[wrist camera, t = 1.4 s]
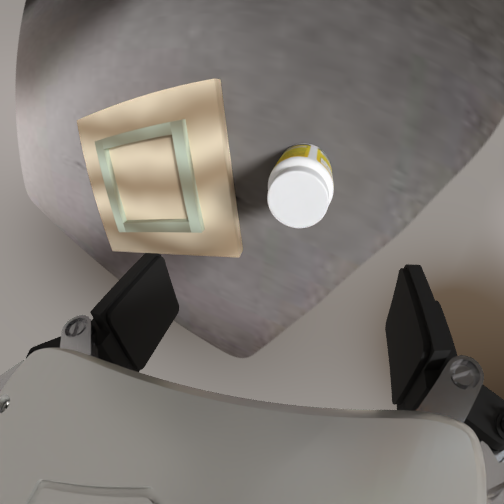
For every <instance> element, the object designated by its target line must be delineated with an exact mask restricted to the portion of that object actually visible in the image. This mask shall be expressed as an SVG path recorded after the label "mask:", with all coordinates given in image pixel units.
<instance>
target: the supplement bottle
mask: <svg viewBox="0 0 504 504" xmlns="http://www.w3.org/2000/svg"><path fill="white" fill-rule="evenodd" d="M333 191H334V186H333V177H332V170H331V164H330V161H329V158H328V157H327V155H326V154H325V152H324V151H322V150H321V149H320V148H318V147H317V146H314V145H312V144H306V143H301V144H296V145H293V146H291V147H290V148H288V149H287V150H286V151H285V152H284V153H283V155H282V156H281V158H280V159H279V161H278V162H277V164H276V166H275V167H274V168H273V170H272V172H271V174H270V177H269V180H268V195H267V201H268V206H269V209H270V211H271V213H272V214H273V216H274V217H275V218H276V219H277V220H278V221H280V222H281V223H283V224H284V225H287V226H289V227H293V228H306V227H309V226H312V225H314V224H316V223H317V222H319V221H320V220H321V219H322V218H323V216H324V215H325V213H326V211H327V208H328V205H329V204H330V202H331V199H332V197H333Z"/></svg>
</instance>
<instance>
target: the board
mask: <svg viewBox="0 0 504 504" xmlns="http://www.w3.org/2000/svg"><path fill="white" fill-rule="evenodd" d="M77 124H78V130H79V135H80V140H81V145H82V149H83V154H84V158H85V162H86V167H87V171H88V174H89V178H90V182H91V186H92V189H93V193H94V196H95V200H96V203H97V206H98V210H99V213H100V216H101V219H102V222H103V225H104V228H105V231H106V234H107V237H108V240H109V243H110V245H111V248H112V251H119V252H138V253H158V254H178V255H198V256H219V257H240V255H241V253H242V251H243V247H242V240H241V233H240V225H239V218H238V211H237V203H236V196H235V188H234V181H233V173H232V166H231V158H230V151H229V143H228V135H227V128H226V120H225V112H224V104H223V96H222V88H221V80H220V79H210V80H204V81H199V82H195V83H190V84H186V85H181V86H177V87H173V88H169V89H165V90H162V91H158V92H154V93H151V94H147V95H144V96H141V97H138V98H134V99H131V100H128V101H125V102H122V103H120V104H117V105H114V106H111V107H109V108H106V109H103V110H101V111H98V112H96V113H93V114H91V115H88V116H86V117H84V118H81V119H79V120H77Z"/></svg>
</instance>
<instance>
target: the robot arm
mask: <svg viewBox="0 0 504 504" xmlns="http://www.w3.org/2000/svg"><path fill="white" fill-rule="evenodd" d="M178 311H179V304H178V301H177V298H176V295H175V292H174V289H173V286H172V283H171V280H170V277H169V273H168V270H167V267H166V264H165V260H164V258H163V257H161V255H160V254H158V253H146V254H144V255H143V256H142V257H141V258H140V259H139V260H138V262H137V263H136V264H135V265H134V266H133V267H132V268H131V269H130V270H129V271H128V272H127V273H126V274H125V275H124V276H123V277H122V278H121V279H120V280H119V281H118V282H117V283H116V284H115V286H114V287H113V288H112V289H111V290H110V291H109V292H108V293H107V294H106V295H105V296H104V297H103V299H102V300H101V301H100V302H99V303H98V304H97V305H96V306H95V307H94V309H93V310H92V311H91V314H92V316H93V320H92V321H91V319H90V318H89V317H88V316H85V315H80V316H76V317H74V318H72V319H71V320H69V321H68V322H67V323H66V324H65V325H64V327H63V329H62V334H61V337H58V338H55V339H53V340H50V341H48V342H45V343H42V344H40V345H38V346H35V347H33V348H31V349H30V351H29V353H28V355H27V357H26V359H25V360H23V361H21V362H20V363H18V364H17V365H15V366H14V367H12V368H11V369H9V370H8V371H6V372H5V373H4V374H2V375H1V376H0V504H504V400H503V399H501V398H500V397H499V396H498V395H496V394H495V393H494V392H492V391H491V390H489V389H488V388H487V387H485V386H484V385H483V380H484V375H483V371H482V368H481V366H480V365H479V364H478V362H477V361H475V360H474V359H473V358H471V357H468V356H463V355H460V356H457V353H456V349H455V346H454V343H453V340H452V337H451V334H450V331H449V327H448V325H447V322H446V319H445V316H444V313H443V311H442V308H441V305H440V304H439V302H438V301H435V299H434V297H433V294H432V292H431V289H430V287H429V284H428V282H427V279H426V277H425V274H424V272H423V270H422V267H421V266H420V265H405V267H404V268H401V269H400V270H399V274H398V280H397V283H396V287H395V291H394V295H393V300H392V303H391V307H390V310H389V314H388V317H387V321H386V329H385V330H386V338H387V346H388V355H389V364H390V375H391V387H392V388H391V389H392V402H393V404H397V410H356V409H335V408H319V407H307V406H296V405H286V404H279V403H271V402H264V401H257V400H251V399H245V398H239V397H234V396H229V395H224V394H219V393H214V392H209V391H205V390H201V389H196V388H192V387H188V386H184V385H180V384H177V383H173V382H169V381H166V380H162V379H159V378H155V377H152V376H148V375H145V374H142V373H139V371H140V370H141V369H143V368H144V367H145V365H146V363H147V362H148V360H149V358H150V357H151V355H152V354H153V352H154V350H155V349H156V347H157V346H158V344H159V342H160V341H161V339H162V337H163V336H164V334H165V333H166V331H167V330H168V328H169V326H170V325H171V323H172V322H173V320H174V319H175V317H176V315H177V314H178Z"/></svg>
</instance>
